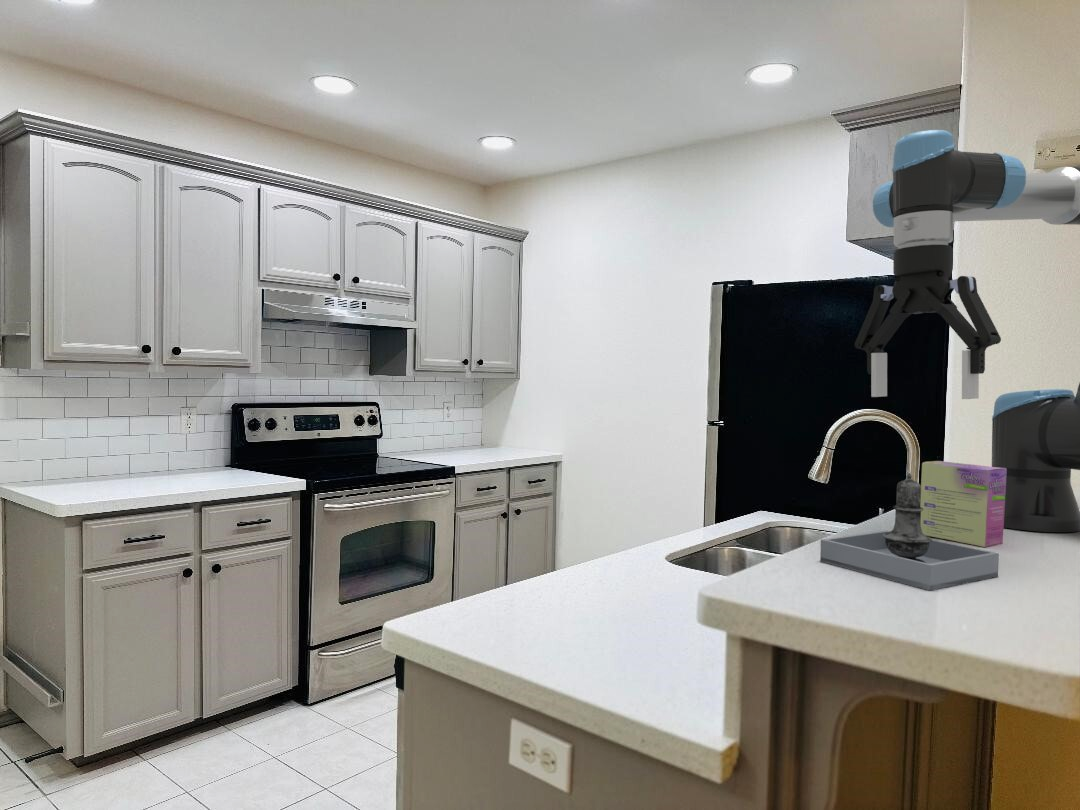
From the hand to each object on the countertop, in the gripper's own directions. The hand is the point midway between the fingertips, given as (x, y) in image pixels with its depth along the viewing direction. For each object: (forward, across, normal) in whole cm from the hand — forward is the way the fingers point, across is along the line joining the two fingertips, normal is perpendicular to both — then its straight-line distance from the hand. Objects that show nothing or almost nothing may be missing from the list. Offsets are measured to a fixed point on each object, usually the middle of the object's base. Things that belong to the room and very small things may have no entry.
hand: (922, 397), depth 110 cm
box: (+23, -3, +15) cm, 28 cm away
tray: (+22, +4, -10) cm, 25 cm away
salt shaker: (+22, +4, -10) cm, 24 cm away
